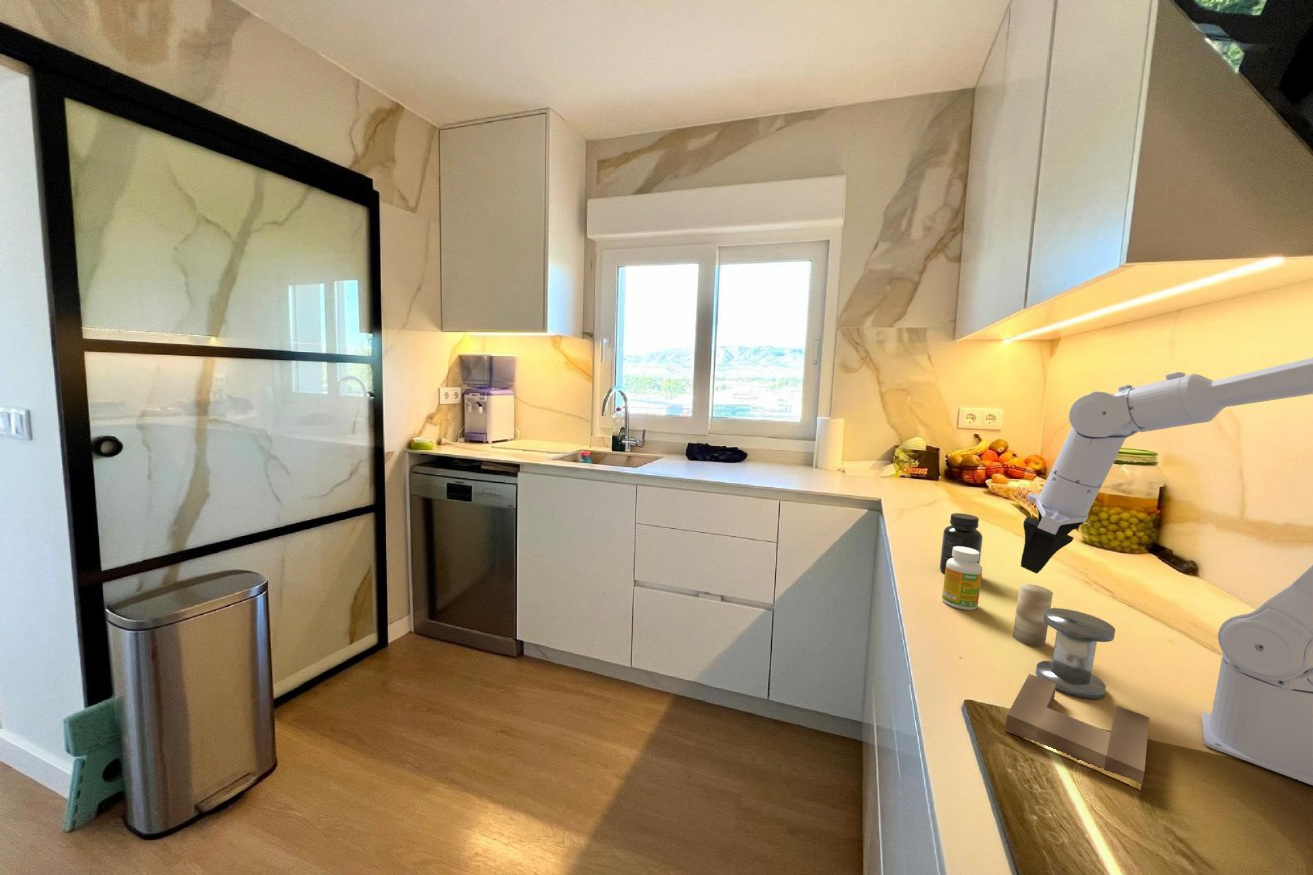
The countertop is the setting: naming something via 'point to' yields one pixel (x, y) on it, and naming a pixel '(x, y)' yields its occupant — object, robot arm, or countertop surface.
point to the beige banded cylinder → (1032, 615)
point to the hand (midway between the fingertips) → (1034, 561)
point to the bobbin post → (1075, 652)
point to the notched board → (1080, 731)
